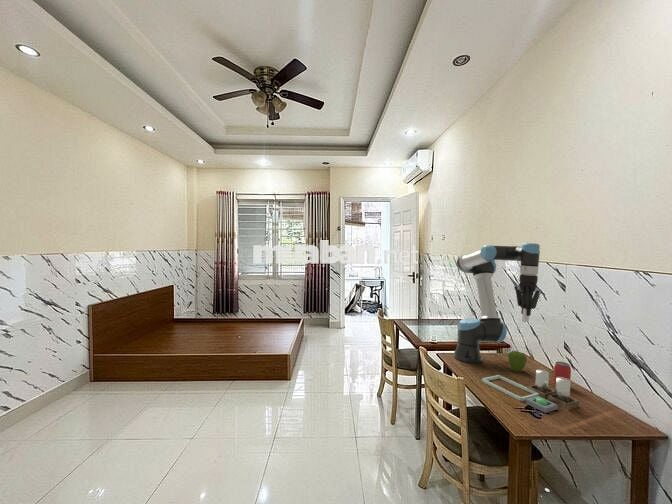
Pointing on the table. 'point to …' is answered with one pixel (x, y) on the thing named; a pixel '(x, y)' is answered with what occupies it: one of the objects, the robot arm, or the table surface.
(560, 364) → the beer can
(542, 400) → the button
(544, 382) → the cylinder
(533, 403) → the grey square button housing
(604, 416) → the table surface
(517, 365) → the apple
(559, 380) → the cylinder
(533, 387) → the tray
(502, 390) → the tray
